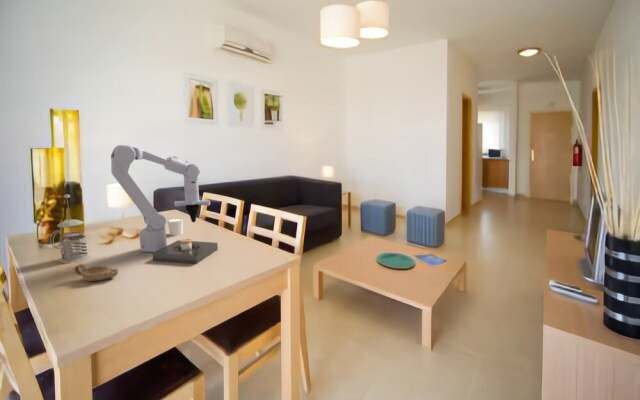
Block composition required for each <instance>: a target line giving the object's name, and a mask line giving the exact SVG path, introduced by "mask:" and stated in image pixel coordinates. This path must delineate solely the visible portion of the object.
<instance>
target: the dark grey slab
mask: <svg viewBox="0 0 640 400" xmlns="http://www.w3.org/2000/svg"><path fill="white" fill-rule="evenodd" d="M180 241H181V240H176V241H174V242H172V243H169V244H167V245H168V246H166V247H164V248H162V249H159V250H157V251H155V252H151V254H152V261H153V262H168V263H169V262H170V263H180V264H181V263H182V264H196V265H197V264H199V263H200V262H202V261H203V260H204V259H206V258H208V257H210V256H211V255H212V254H214V253H215V252H217V251H218V250H219V249H218V242H212V241H195V240H194V241H193V240H191V244H192V249H189V250H181V244H180Z"/></svg>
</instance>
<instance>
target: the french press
mask: <svg viewBox="0 0 640 400" xmlns="http://www.w3.org/2000/svg"><path fill="white" fill-rule="evenodd" d="M63 198H65V199H66V203H67V210H68V217H69V219H67V220H63V221H61V222H59V223H58V224H57V225H56V227H57V228H62V229H63V228H64V229H67V228H70V230H71V231H70V232H65V233H62V230H60V229H56V230H54V231H53V232H52V233H51V234H50V238H49V241H50V244H51V246H52V247H53V248H55V249H57V250H59V251H60V254H61V258H60V260H59V261H60V262H62V263H61V264H72V263H71V262H74V263H79V262H83V261H86V260H89V259H90V258H91V257H92V255H91V254H89V253H88V246H87V240H86V235H84V233H85V232H83V231H73V230H72V227H79V226H81V225H84V223H85V221H82V220H80V219H72V218H71V214H70V213H71V212H70V208H69V207H70V206H69V200H68V199H69V198H71V195H70V194H66V193H65V194H64V195H63ZM53 234H54V235H53ZM57 234H60V236H59V237H60V239H59V245H60V247H57V246H56V244H55V241H54V240H55V236H56V235H57ZM52 237H53V238H52ZM85 259H86V260H85ZM82 260H83V261H82ZM78 261H79V262H78ZM60 262H59V263H60Z"/></svg>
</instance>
